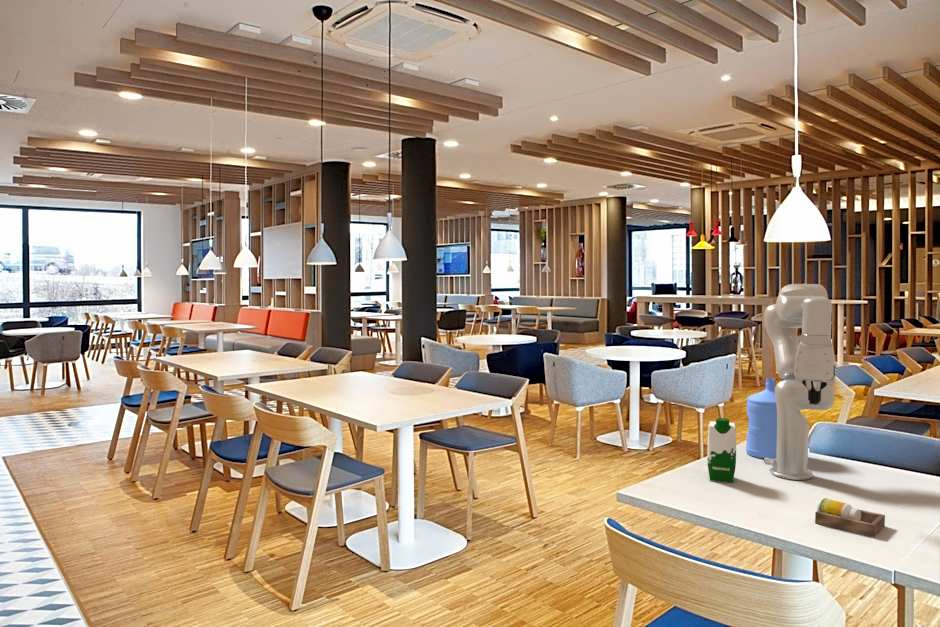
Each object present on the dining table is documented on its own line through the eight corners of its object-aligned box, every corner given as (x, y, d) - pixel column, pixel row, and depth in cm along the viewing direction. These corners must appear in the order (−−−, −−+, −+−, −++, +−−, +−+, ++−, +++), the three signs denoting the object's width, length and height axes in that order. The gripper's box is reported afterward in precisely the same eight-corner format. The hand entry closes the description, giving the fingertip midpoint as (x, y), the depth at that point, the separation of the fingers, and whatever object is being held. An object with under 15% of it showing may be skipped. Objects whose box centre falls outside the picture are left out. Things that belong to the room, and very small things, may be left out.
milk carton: (706, 481, 224) (708, 419, 223) (707, 473, 232) (708, 414, 231) (736, 484, 221) (737, 421, 220) (735, 476, 230) (736, 416, 228)
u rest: (815, 523, 187) (815, 512, 187) (827, 513, 194) (828, 502, 194) (873, 537, 177) (874, 525, 177) (884, 526, 185) (885, 515, 184)
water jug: (802, 458, 250) (804, 381, 248) (765, 462, 246) (767, 383, 244) (771, 448, 265) (773, 375, 263) (736, 451, 261) (738, 376, 259)
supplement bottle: (828, 504, 194) (864, 514, 186) (820, 520, 192) (857, 531, 184) (821, 493, 192) (858, 502, 184) (814, 509, 190) (851, 519, 182)
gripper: (784, 339, 203) (782, 402, 204) (840, 343, 193) (838, 409, 194) (793, 338, 209) (792, 398, 210) (848, 341, 198) (846, 405, 199)
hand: (814, 403), depth 202 cm, fingers closed
